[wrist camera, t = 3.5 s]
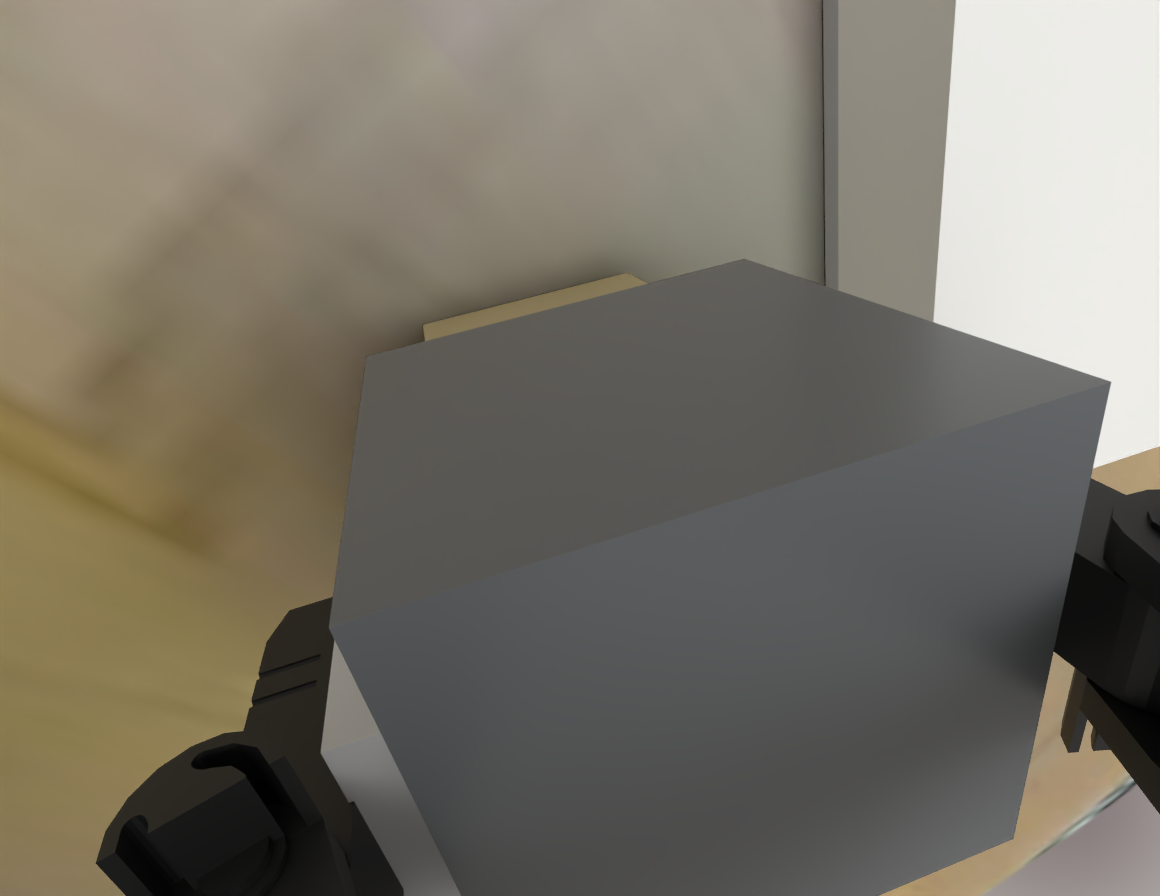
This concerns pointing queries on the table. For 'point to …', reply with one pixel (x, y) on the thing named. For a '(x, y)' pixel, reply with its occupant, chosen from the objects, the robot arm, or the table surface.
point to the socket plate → (1005, 180)
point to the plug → (710, 584)
